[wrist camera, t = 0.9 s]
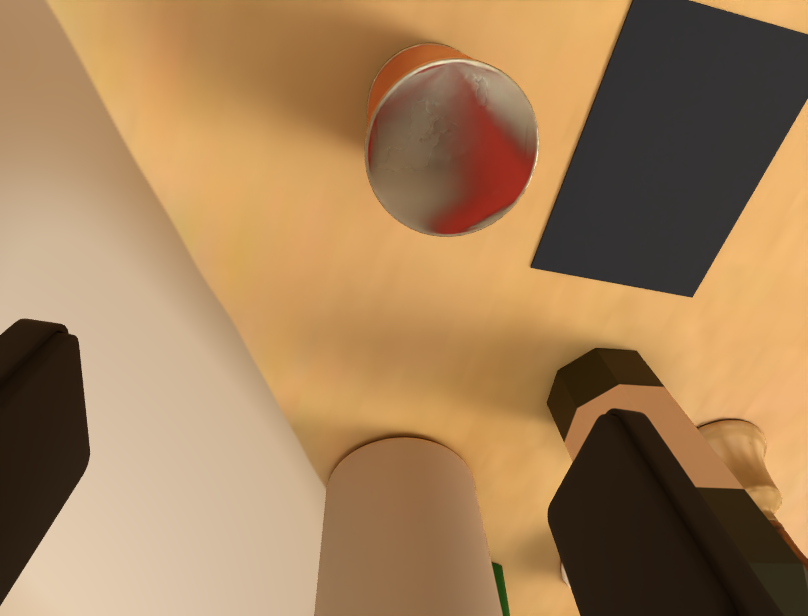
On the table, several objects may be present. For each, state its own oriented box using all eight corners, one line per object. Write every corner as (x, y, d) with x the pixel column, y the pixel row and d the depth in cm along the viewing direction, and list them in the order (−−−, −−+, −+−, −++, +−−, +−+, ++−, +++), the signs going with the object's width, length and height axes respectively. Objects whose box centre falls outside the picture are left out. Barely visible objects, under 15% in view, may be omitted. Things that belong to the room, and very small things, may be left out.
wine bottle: (539, 362, 37) (919, 1158, 11) (652, 333, 36) (1338, 1118, 11) (553, 439, 41) (854, 1151, 15) (655, 415, 41) (1151, 1122, 15)
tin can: (379, 28, 26) (383, 36, 17) (503, 59, 27) (565, 82, 18) (357, 158, 29) (350, 220, 20) (468, 181, 30) (507, 250, 21)
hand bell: (654, 489, 45) (777, 697, 31) (680, 420, 41) (835, 626, 27) (743, 485, 46) (903, 689, 32) (778, 416, 41) (979, 618, 28)
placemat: (638, -14, 25) (639, -15, 25) (838, 43, 27) (839, 43, 27) (530, 267, 33) (531, 267, 33) (691, 296, 35) (692, 297, 35)
